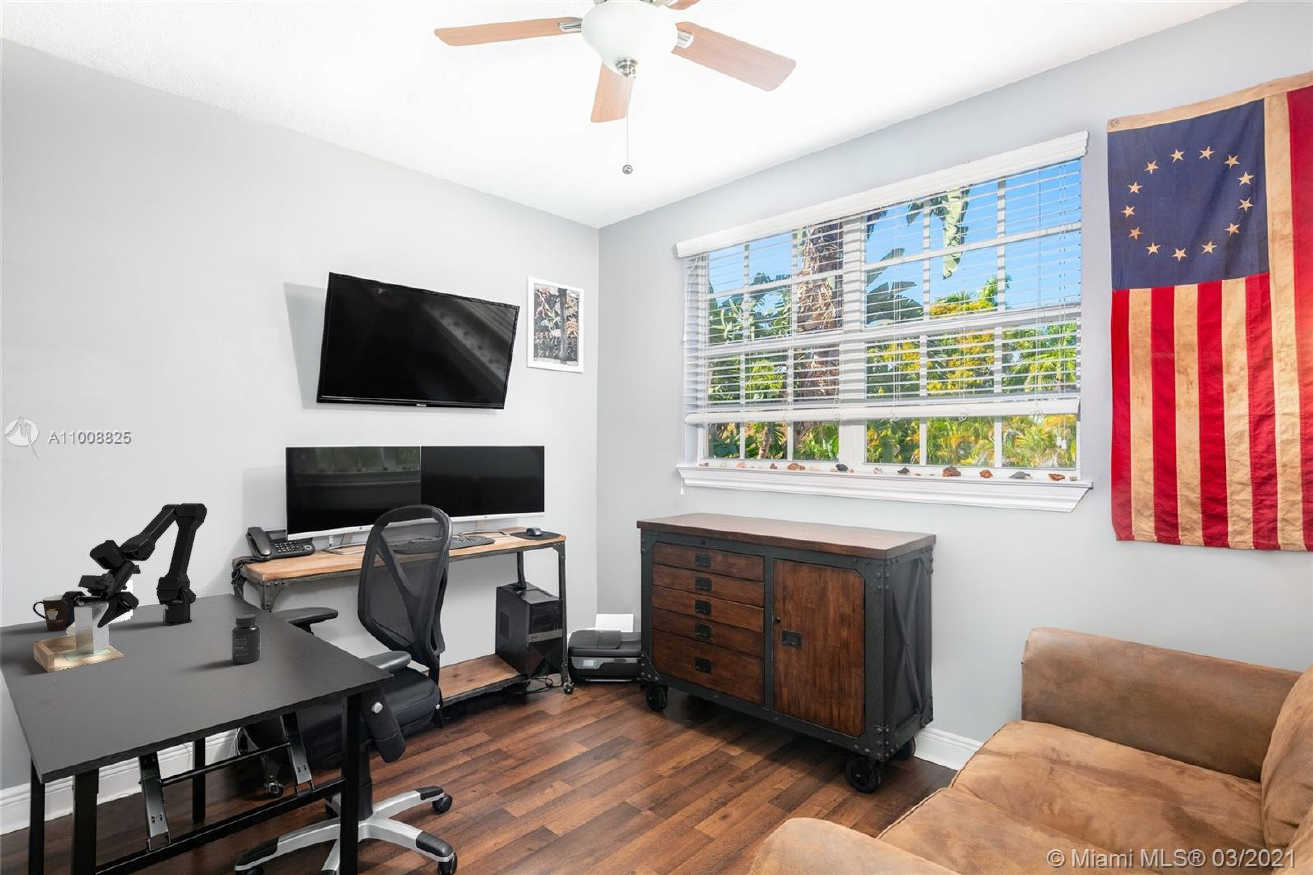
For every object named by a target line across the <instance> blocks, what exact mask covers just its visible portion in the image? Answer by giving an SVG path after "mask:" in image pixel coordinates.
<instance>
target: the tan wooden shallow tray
mask: <svg viewBox="0 0 1313 875" xmlns="http://www.w3.org/2000/svg"><path fill="white" fill-rule="evenodd" d="M67 635H68V634H67ZM124 656H125V655H124V654H123V653H122V652H120V651H119V650H117V649H116V648H114V647H113V646H112V645H111V644H109V648H106V649H104V650H102V651H99V652H97V653H95V654H76V634H74V635H68V636H66V635H64V636H58V637H51V638H47V639H46V638H45V639H40V640H36V641H35V640H34V641H33V659H34V660H35V661H36V662H37V664H39V665H40V666H41V667H42V669H44V670H45V672H47V673H48V674H49V673H53V672H59V671H63V669H64V670H68V669H67V668H69V669H74V668H78V667H83V666H88V665H92V664H97V663H102V662H106V661H111V660H112V659H113V660H117V659H122V658H124ZM87 664H88V665H87Z"/></svg>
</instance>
